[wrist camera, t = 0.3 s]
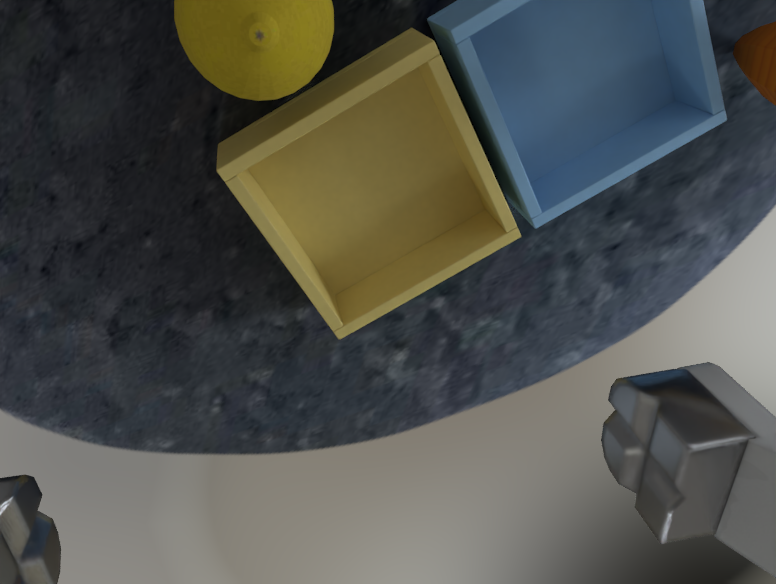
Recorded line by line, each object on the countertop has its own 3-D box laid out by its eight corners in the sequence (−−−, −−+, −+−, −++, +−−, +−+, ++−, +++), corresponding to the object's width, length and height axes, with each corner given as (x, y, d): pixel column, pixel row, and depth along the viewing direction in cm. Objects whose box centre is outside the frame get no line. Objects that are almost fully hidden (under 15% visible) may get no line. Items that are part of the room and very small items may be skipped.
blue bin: (425, 18, 28) (449, 30, 25) (631, -105, 27) (682, -109, 24) (507, 201, 33) (535, 229, 30) (680, 101, 32) (727, 120, 29)
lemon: (161, -58, 24) (135, -49, 18) (303, -85, 25) (330, -87, 18) (206, 87, 27) (198, 143, 21) (332, 60, 28) (365, 105, 21)
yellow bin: (217, 144, 29) (215, 170, 26) (411, 27, 28) (434, 40, 25) (329, 302, 34) (339, 340, 31) (495, 207, 33) (522, 236, 30)
